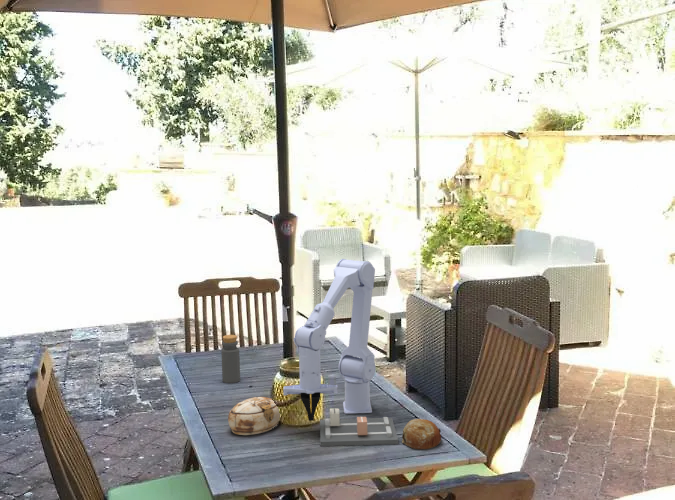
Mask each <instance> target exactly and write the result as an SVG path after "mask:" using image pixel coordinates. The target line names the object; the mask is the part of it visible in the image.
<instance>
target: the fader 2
mask: <svg viewBox="0 0 675 500" xmlns="http://www.w3.org/2000/svg"><path fill="white" fill-rule="evenodd" d="M356 419H357V433H358V435H367V416H356Z"/></svg>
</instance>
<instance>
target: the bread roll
mask: <svg viewBox="0 0 675 500" xmlns="http://www.w3.org/2000/svg"><path fill="white" fill-rule="evenodd" d="M441 432H442V431H441V429H440V428H439V427H438V426H437V425H436V423H434V422H433V421H431V420H429V419H423V418H414V419H411V420H409V421H408V422H407V423H406V424H405V426H404V428H403V430H402V436H401V438H402V439H401V443H402V444H403V445H406V446H407V447H409V448H411V449H413V450H429V449H433V448H435V447H437V446H439V444H440V443H441V441H442V434H441Z"/></svg>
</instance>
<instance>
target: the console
mask: <svg viewBox="0 0 675 500" xmlns="http://www.w3.org/2000/svg"><path fill="white" fill-rule="evenodd" d="M366 418H367V417H366ZM319 429H320V432H319V436H320V439H319V441H320V447H341V446H344V447H345V446H348V445H349V446H373V445H374V446H375V445H376V446H377V445H383V446H384V445H398V444H399V438H398V433H397V430H396V427H395V423H394V421H393V417H388V416H383V417H377V418H376V417H373V418H370V417H369V418H367V435H358V433H357V418H340V426H330V418H324V419H319Z"/></svg>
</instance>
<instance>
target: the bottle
mask: <svg viewBox="0 0 675 500" xmlns="http://www.w3.org/2000/svg"><path fill="white" fill-rule="evenodd" d="M237 339H238V336H237V335H235V334H226V335H223V336H222V340H223V341H222V342H221V345H222V346H223V348H222V349H221V352H220V353H221V355H220V356H221V372H222V374H221V376H222V377H221V378H222V382H223V383H225V384H235V383H238V382H240V381H241V364H240V362H241V361H240V360H241V359H240V349H239V347H237V346H238V344H239V343H238V340H237Z"/></svg>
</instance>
